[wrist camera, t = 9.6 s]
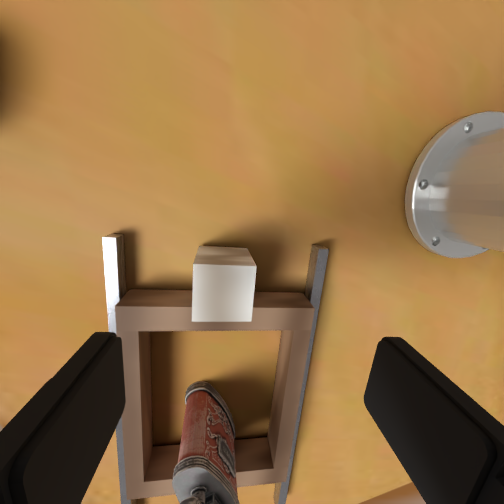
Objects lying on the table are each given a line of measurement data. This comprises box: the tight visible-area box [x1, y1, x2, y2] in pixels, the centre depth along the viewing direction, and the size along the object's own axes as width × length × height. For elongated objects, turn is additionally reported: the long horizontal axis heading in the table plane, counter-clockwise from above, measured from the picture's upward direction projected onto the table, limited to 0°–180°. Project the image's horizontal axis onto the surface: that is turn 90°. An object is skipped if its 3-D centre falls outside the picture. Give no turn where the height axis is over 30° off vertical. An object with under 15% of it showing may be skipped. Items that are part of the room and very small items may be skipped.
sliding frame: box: [115, 246, 315, 500], centre depth 20 cm, size 15×23×5 cm, turn 175°
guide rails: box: [102, 234, 329, 504], centre depth 23 cm, size 18×32×2 cm, turn 175°
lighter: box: [172, 381, 239, 504], centre depth 19 cm, size 8×3×10 cm, turn 22°
